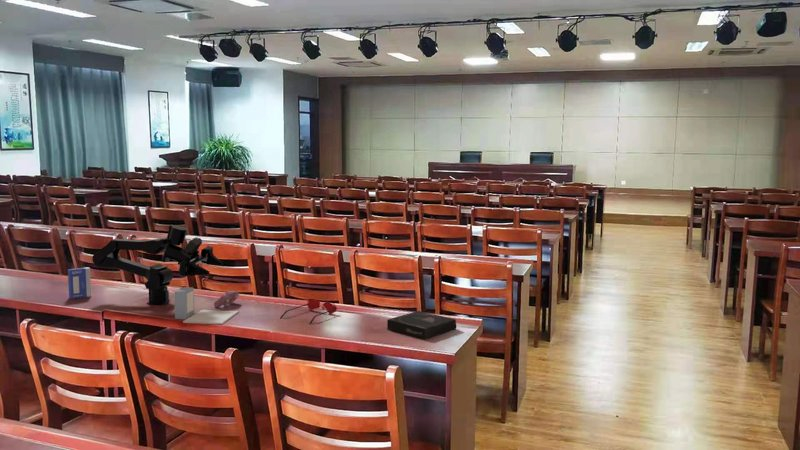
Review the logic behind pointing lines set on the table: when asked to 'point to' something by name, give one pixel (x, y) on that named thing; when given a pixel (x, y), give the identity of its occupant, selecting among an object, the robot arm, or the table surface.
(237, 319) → the table surface
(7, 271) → the table surface
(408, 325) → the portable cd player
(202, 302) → the table surface
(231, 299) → the video game controller
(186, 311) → the slab
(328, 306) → the glasses
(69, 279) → the walkman
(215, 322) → the mat
